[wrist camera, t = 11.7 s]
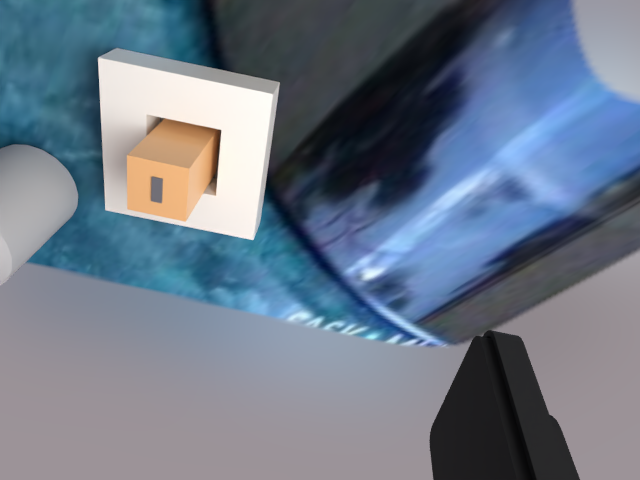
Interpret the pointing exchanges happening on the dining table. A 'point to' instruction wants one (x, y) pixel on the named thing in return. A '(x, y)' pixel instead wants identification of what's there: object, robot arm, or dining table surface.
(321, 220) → the dining table surface
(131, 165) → the charger
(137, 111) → the outlet plate
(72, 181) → the can
